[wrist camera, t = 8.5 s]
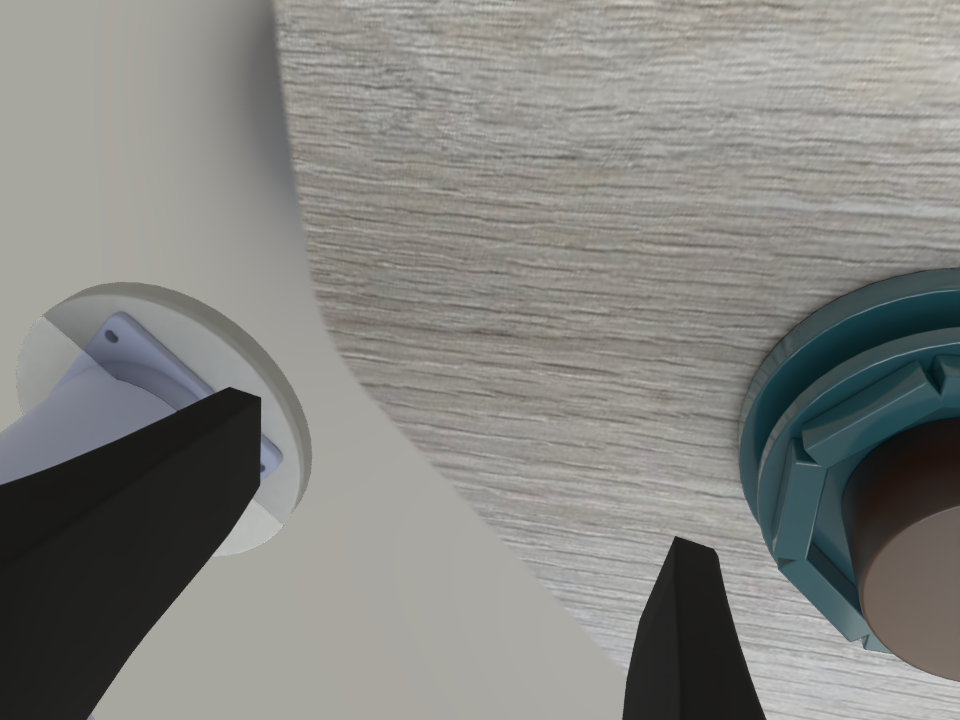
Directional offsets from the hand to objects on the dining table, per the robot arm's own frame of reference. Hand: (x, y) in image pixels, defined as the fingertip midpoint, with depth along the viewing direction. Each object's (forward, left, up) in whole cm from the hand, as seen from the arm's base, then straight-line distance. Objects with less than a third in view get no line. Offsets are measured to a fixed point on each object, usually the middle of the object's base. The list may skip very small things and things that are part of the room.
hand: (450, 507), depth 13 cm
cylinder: (+5, -10, -7) cm, 13 cm away
